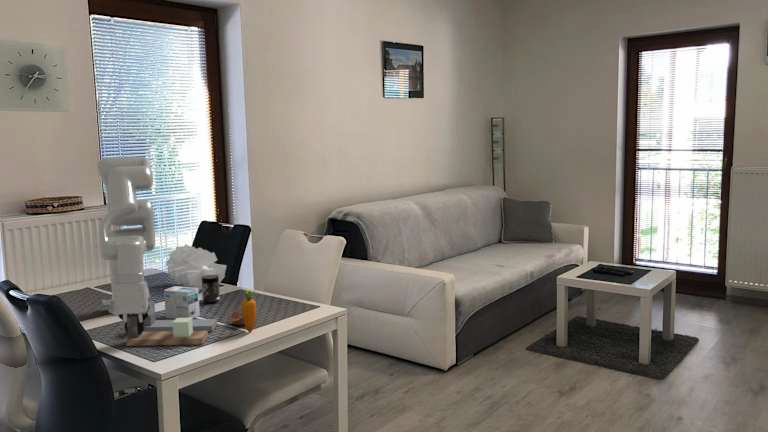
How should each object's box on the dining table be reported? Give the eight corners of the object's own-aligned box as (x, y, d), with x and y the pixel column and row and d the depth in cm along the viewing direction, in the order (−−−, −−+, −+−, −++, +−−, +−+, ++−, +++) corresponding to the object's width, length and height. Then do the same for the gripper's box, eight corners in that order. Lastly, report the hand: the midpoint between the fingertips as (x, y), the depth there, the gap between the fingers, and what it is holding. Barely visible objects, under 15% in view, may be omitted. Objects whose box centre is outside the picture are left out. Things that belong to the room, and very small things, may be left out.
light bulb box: (200, 315, 243) (199, 287, 242) (189, 320, 237) (188, 291, 235) (176, 313, 246) (174, 285, 245) (164, 318, 240) (163, 289, 239)
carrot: (243, 330, 225) (241, 287, 223) (258, 329, 225) (256, 287, 223) (241, 334, 220) (239, 291, 218) (256, 334, 221) (254, 291, 218)
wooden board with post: (126, 345, 210) (124, 318, 208) (135, 337, 217) (133, 311, 216) (202, 344, 210) (200, 317, 209) (207, 336, 218) (206, 310, 217)
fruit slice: (254, 325, 231) (253, 311, 230) (237, 329, 226) (236, 315, 226) (242, 320, 237) (242, 306, 236) (225, 324, 232) (225, 310, 232)
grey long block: (141, 332, 222) (139, 307, 221) (148, 325, 230) (147, 300, 229) (212, 331, 223) (211, 306, 222) (217, 324, 231) (216, 299, 230)
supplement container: (206, 299, 265) (205, 274, 264) (222, 299, 265) (221, 274, 263) (199, 304, 259) (198, 278, 257) (216, 304, 258) (215, 278, 256)
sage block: (173, 337, 211) (172, 322, 211) (177, 332, 216) (176, 317, 216) (189, 337, 211) (188, 322, 211) (192, 332, 216) (192, 317, 216)
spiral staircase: (201, 303, 275) (173, 289, 293) (234, 279, 285) (205, 267, 302) (182, 268, 267) (155, 256, 284) (217, 244, 276) (188, 234, 294)
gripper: (101, 281, 207) (105, 337, 209) (153, 280, 207) (157, 336, 210) (110, 275, 214) (113, 330, 217) (160, 275, 215) (163, 329, 217)
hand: (135, 332), depth 213 cm, fingers closed on wooden board with post, 3 cm apart
